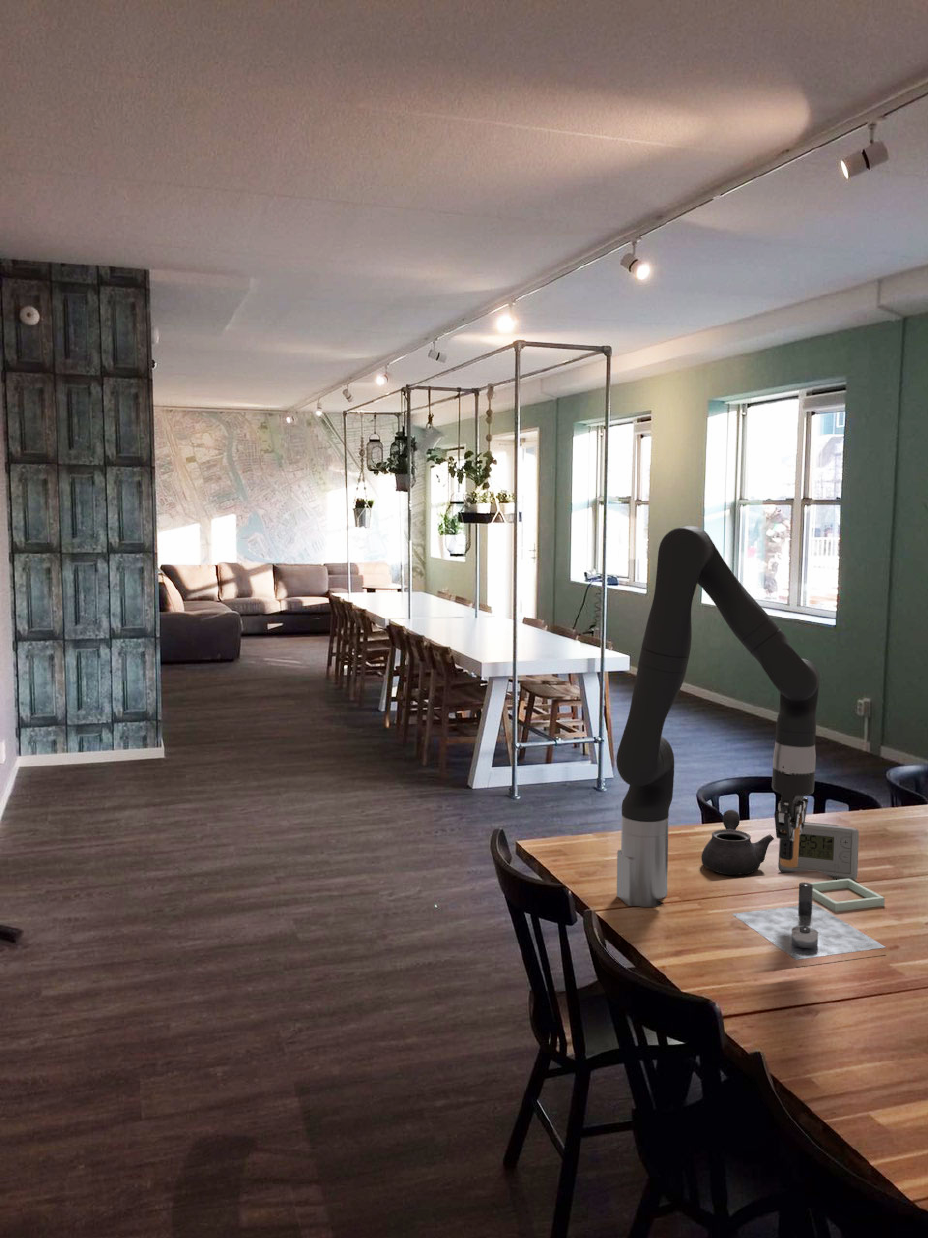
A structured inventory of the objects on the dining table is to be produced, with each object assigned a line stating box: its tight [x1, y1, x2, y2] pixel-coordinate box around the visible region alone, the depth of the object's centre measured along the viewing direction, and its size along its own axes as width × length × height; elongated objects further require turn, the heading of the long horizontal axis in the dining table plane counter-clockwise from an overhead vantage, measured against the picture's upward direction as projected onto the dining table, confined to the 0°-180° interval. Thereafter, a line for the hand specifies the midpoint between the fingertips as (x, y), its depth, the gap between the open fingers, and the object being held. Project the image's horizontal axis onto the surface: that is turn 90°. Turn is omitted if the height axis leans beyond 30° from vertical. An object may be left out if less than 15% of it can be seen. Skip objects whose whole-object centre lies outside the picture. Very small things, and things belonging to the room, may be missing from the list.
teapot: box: [700, 809, 775, 876], centre depth 228 cm, size 19×15×10 cm
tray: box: [809, 879, 886, 913], centre depth 204 cm, size 11×11×3 cm
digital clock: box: [777, 821, 860, 881], centre depth 221 cm, size 16×9×11 cm, turn 58°
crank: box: [791, 882, 818, 948], centre depth 187 cm, size 16×4×7 cm, turn 162°
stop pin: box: [780, 823, 800, 867], centre depth 194 cm, size 3×3×8 cm
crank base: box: [731, 903, 887, 969], centre depth 188 cm, size 18×21×2 cm
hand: (789, 855), depth 194 cm, fingers closed on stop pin, 3 cm apart
